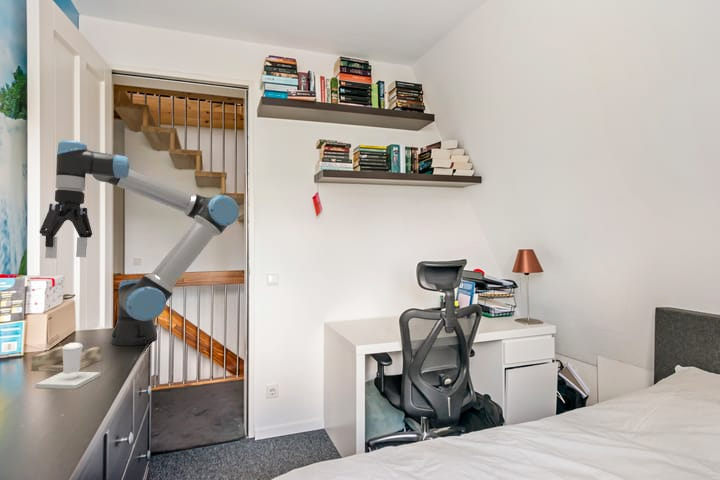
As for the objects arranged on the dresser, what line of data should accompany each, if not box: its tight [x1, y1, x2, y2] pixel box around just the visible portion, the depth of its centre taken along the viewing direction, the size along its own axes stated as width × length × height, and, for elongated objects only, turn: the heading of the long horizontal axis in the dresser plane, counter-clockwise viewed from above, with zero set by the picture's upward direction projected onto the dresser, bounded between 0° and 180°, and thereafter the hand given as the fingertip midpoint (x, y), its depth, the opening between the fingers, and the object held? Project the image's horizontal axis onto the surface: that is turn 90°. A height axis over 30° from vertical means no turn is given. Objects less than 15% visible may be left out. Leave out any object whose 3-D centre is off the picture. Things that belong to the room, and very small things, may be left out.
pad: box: [34, 371, 102, 390], centre depth 105 cm, size 10×10×1 cm
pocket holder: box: [30, 345, 102, 372], centre depth 118 cm, size 12×12×4 cm
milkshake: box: [58, 341, 84, 380], centre depth 105 cm, size 5×5×10 cm
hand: (66, 257), depth 125 cm, fingers open, 13 cm apart
